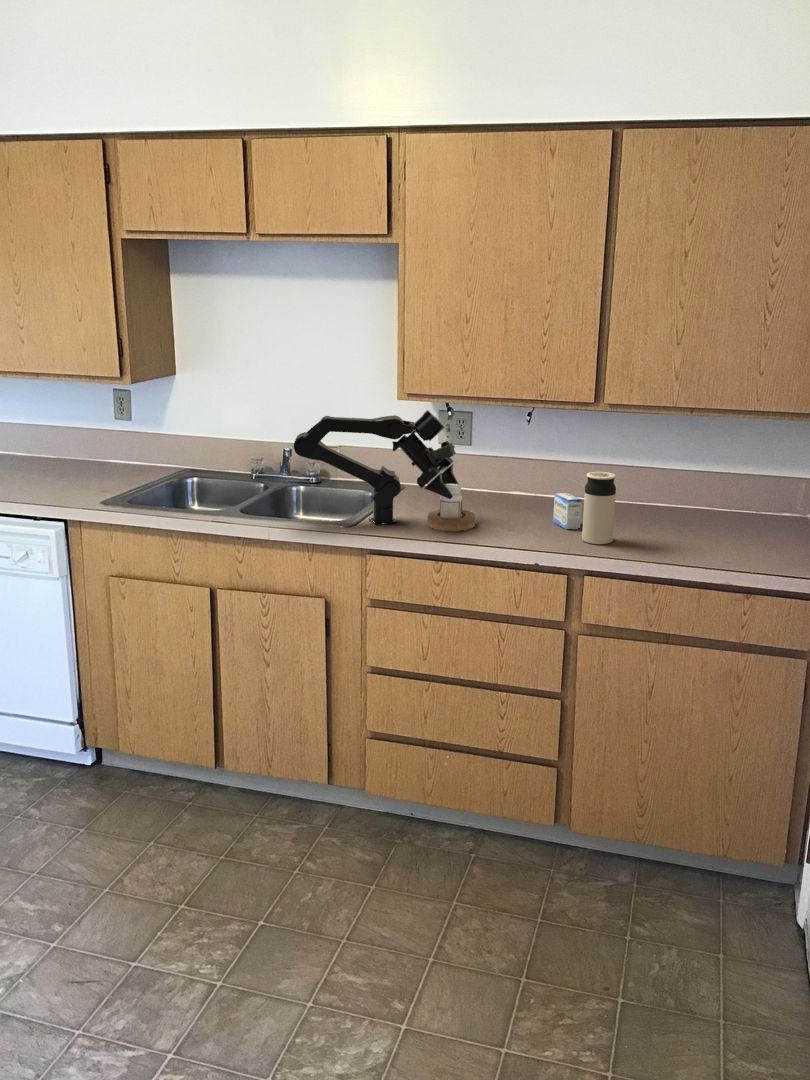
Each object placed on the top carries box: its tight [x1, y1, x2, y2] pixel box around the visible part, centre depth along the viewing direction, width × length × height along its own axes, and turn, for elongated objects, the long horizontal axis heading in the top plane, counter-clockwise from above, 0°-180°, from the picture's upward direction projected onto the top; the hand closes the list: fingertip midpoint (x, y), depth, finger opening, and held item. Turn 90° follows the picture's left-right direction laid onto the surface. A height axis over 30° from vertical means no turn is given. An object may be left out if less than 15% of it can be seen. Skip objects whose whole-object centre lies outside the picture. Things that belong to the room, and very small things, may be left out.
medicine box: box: [552, 492, 583, 530], centre depth 279 cm, size 8×4×9 cm, turn 21°
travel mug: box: [581, 471, 617, 545], centre depth 264 cm, size 8×8×18 cm
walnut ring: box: [427, 509, 476, 532], centre depth 281 cm, size 13×13×3 cm
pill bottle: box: [439, 483, 463, 518], centre depth 280 cm, size 6×6×11 cm
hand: (455, 494), depth 278 cm, fingers open, 9 cm apart
